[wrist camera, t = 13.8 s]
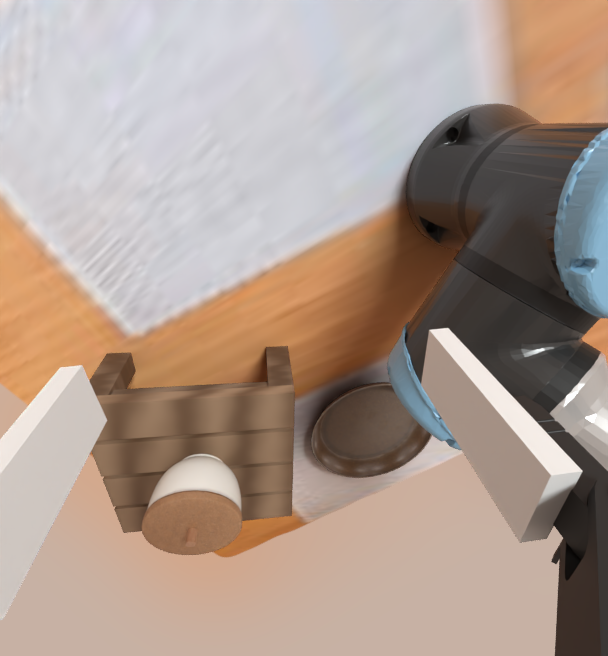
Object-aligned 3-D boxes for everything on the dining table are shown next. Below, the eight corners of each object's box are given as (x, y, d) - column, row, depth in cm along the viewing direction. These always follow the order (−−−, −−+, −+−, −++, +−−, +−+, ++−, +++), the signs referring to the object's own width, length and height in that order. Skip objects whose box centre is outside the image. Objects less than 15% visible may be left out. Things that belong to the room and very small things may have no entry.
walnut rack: (287, 346, 49) (294, 393, 41) (286, 460, 61) (291, 515, 53) (106, 353, 46) (73, 405, 38) (142, 472, 58) (123, 532, 50)
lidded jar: (253, 447, 44) (253, 518, 36) (232, 499, 49) (228, 573, 41) (165, 434, 41) (144, 509, 33) (152, 491, 46) (130, 568, 38)
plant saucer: (376, 349, 52) (383, 362, 49) (450, 412, 61) (460, 426, 58) (282, 430, 58) (284, 446, 55) (363, 476, 67) (368, 492, 64)
